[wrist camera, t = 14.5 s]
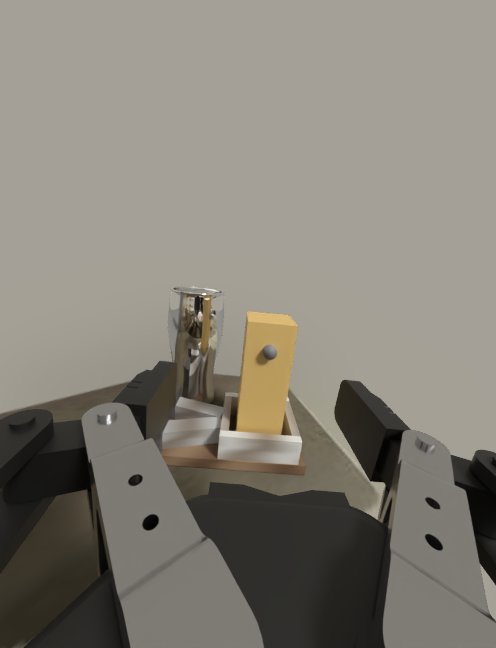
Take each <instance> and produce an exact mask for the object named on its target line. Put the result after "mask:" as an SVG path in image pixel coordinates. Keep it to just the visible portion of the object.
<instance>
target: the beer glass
mask: <svg viewBox="0 0 496 648" xmlns="http://www.w3.org/2000/svg"><path fill="white" fill-rule="evenodd" d="M223 322H224V292H223V291H221V290H217V289H212V288H205V287H193V286H177V287H172V288H171V293H170V302H169V312H168V334H169V343H170V349H171V355H172V361H173V362H176V363H177V379H176V385H182V390H181V397H184V398H188V399H192V400H196V401H200V402H204V403H208V404H210V403H211V402H212V401H213V400H214V397H215V393H214V385H213V372H214V366H215V362H216V358H217V354H218V351H219V347H220V343H221V338H222V331H223Z"/></svg>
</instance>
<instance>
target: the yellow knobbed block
mask: <svg viewBox="0 0 496 648" xmlns="http://www.w3.org/2000/svg"><path fill="white" fill-rule="evenodd" d="M297 331H298V325H297V324H296V323H295V322H294V321H293V320H292V319H291V317H290V316H289V315H280V314H269V313H259V312H247V317H246V327H245V337H244V346H243V356H242V366H241V375H240V385H239V395H238V405H237V414H236V429H235V431H237V432H250V433H262V434H275V435H281V432H282V426H283V420H284V413H285V407H286V401H287V394H288V388H289V381H290V375H291V368H292V363H293V356H294V350H295V344H296V337H297Z"/></svg>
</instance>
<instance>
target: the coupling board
mask: <svg viewBox="0 0 496 648" xmlns="http://www.w3.org/2000/svg"><path fill="white" fill-rule="evenodd" d="M181 390H182V385H176V396H175V401H174V404H173V407H172V409H171V411H170V413H169V415H168V417H167V419H166V421H165V423H164V425H163V428H162V430H161V432H160V434H159V436H158V438H157V440H156V442H155V444H156V446H157V448H158V449H159V451H160V453H161V455H162V457H163V459H164V461H165V463H166V465H173V466H187V467H200V468H214V469H228V470H241V471H255V472H268V473H282V474H296V475H304V473H305V468H306V466H305V462H304V459H303V456H302V452H301V447H302V440H301V437H300V434H299V431H298V427H297V424H296V421H295V418H294V415H293V412H292V409H291V405H290V402H289V399H288V398H287V401H286V407H285V413H284V420H283V426H282V432H281V435H275V434H262V433H250V432H237V431H235V429H236V414H237V405H238V395H239V393H228V392H226V395H225V401H224V407H220V406H216V405H212V404H208V403H204V402H200V401H196V400H192V399H188V398H184V397H181Z"/></svg>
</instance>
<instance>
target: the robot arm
mask: <svg viewBox="0 0 496 648" xmlns="http://www.w3.org/2000/svg"><path fill="white" fill-rule="evenodd" d="M176 379H177V363H176V362H165V361H159V362H158V364H157V365H156V366H155V367H154V369H153V370H146V371H144V372H142V373H140V374H138V375H137V376H136V377H135V378H134V379H133V380H132V381H131V382H130V383H129V384H128V385H127V387H125V389H124V390H123V391H122V392H121V393H120V394H119V395H118V396H117V397H116V398H115V399H114V401H113V402H112V403H106V404H102V405H98V406H96V407H94V408H92V409H90V410H89V411H87V412H86V413H85V414H84V415H83V417H82V420H76V421H67V422H58V423H53V415H52V413H51V412H49V411H47V410H42V409H34V410H26V411H22V412H18V413H15V414H12V415H10V416H7V417H5V418H3V419H1V420H0V489H1V490H0V573H1V572H2V570H3V569H4V568H5V566H6V565H7V564H8V562H9V561H10V559H11V558H12V557H13V555H14V554H15V552H16V551H17V550H18V548H19V547H20V546H21V544H22V543H23V541H24V540H25V539H26V537H27V536H28V534H29V533H30V532H31V530H32V529H33V527H34V526H35V525H36V523H37V522H38V521H39V519H40V518H41V516H42V515H43V514H44V512H45V511H46V509H47V508H48V507H49V505H50V504H51V503H52V501H53V500H54V498H55V497H56V496H57V495H62V494H67V493H71V492H76V491H81V490H86V492H87V499H88V505H89V512H90V518H91V525H92V532H93V538H94V545H95V554H96V564H97V572H98V579H97V580H96V581H95V582H93V583H92V584H91V585H90V586H89V587H88V588H87V589H86V590H85V591H84V592H83V593H82V594H81V595H80V596H78V597H77V598H76V599H75V600H74V601H73V602H72V603H71V604H70V605H69V606H68V607H67V608H66V609H64V610H63V611H62V612H61V613H60V614H59V615H58V616H57V617H56V618H55V619H54V620H53V621H52V622H50V623H49V624H48V625H47V626H46V627H45V628H44V629H43V630H42V631H41V632H40V633H39V634H38V635H36V636H35V637H34V638H33V639H32V640H31V641H30V642H29V643H28V644H27V645H26V646H25V647H24V648H496V621H495V620H494V619H493V618H492V616H491V615H490V613H489V610H488V606H487V601H486V595H485V590H484V585H483V579H482V574H481V569H480V564H481V565H482V567H483V568H484V570H485V571H486V572H487V574H488V575H489V576H490V578H491V579H492V580H493V582H494V583H495V585H496V453H494V452H491V451H486V450H477V451H476V452H475V455H474V457H473V459H472V461H470V460H467V459H463V458H460V457H456V456H453V455H450V452H449V450H448V449H447V447H446V446H445V445H444V444H442V443H441V442H440V441H438V440H436V439H435V438H433V437H432V436H430V435H427V434H425V433H422V432H419V431H415V430H411V429H409V427H408V426H407V425H405V423H404V422H403V421H402V420H401V419H400V418H399V417H398V416H397V415H396V414H394V413H393V411H392V410H391V409H390V408H388V406H387V405H386V404H385V403H384V402H383V401H382V400H381V399H380V398H378V397H377V396H375V395H374V394H372V393H371V392H370V391H369V390H368V389H367V388H366V387H365V386H364V385H363V384H362V383H361V382H359V381H350V380H343V381H342V382H341V385H340V389H339V393H338V397H337V401H336V405H335V412H334V413H335V420H336V422H337V424H338V426H339V427H340V429H341V431H342V433H343V434H344V436H345V438H346V440H347V441H348V443H349V445H350V446H351V448H352V450H353V452H354V454H355V455H356V457H357V459H358V461H359V463H360V464H361V466H362V468H363V470H364V471H365V473H366V475H367V477H368V478H369V480H370V481H373V482H384V483H385V485H386V486H385V489H384V491H383V495H382V500H381V505H380V510H379V515H378V520H376V519H375V518H374V517H372V516H371V515H369V514H367V513H365V512H363V511H361V510H359V509H357V508H354V507H351V506H350V505H349V503H348V500H347V498H346V496H345V493H341V492H328V491H315V490H310V491H305V492H300V493H294V494H289V495H284V496H277V495H274V494H271V493H268V492H264V491H261V490H258V489H255V488H252V487H249V486H246V485H239V484H227V483H214V482H210V487H209V494H208V495H203V496H199V497H196V498H193V499H191V500H188V501H186V502H185V500H184V498H183V496H182V494H181V492H180V490H179V488H178V486H177V484H176V482H175V480H174V478H173V476H172V475H171V473H170V471H169V469H168V467H167V465H166V463H165V461H164V459H163V457H162V455H161V453H160V451H159V449H158V448H157V446H156V444H155V442H156V440H157V438H158V436H159V434H160V432H161V430H162V428H163V425H164V423H165V421H166V419H167V417H168V415H169V413H170V411H171V409H172V407H173V404H174V401H175V396H176Z"/></svg>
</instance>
